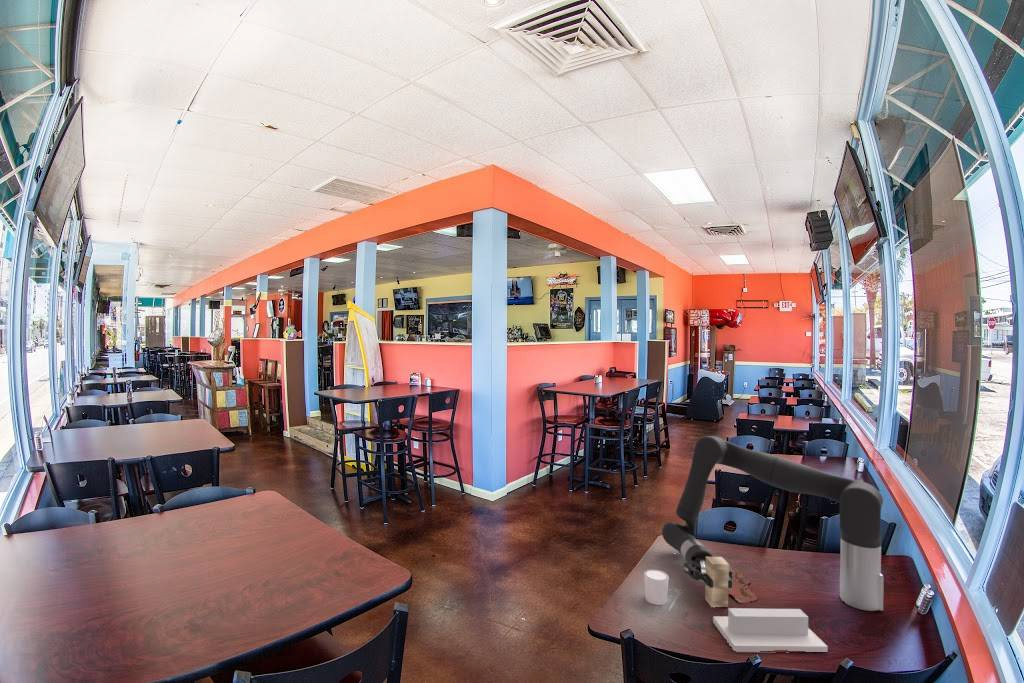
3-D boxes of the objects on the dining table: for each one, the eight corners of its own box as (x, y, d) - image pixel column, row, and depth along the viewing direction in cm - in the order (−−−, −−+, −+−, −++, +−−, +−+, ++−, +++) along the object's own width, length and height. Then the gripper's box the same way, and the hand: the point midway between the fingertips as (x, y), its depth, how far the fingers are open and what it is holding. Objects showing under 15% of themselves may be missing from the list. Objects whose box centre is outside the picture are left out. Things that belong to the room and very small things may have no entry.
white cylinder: (670, 596, 138) (670, 572, 138) (667, 608, 132) (667, 583, 132) (645, 590, 141) (645, 567, 141) (641, 602, 135) (641, 577, 135)
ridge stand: (797, 622, 126) (797, 599, 126) (827, 652, 114) (828, 627, 114) (713, 622, 126) (713, 599, 126) (734, 652, 114) (734, 626, 114)
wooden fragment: (762, 607, 133) (762, 604, 133) (720, 602, 136) (720, 598, 136) (741, 565, 158) (741, 562, 158) (705, 562, 161) (705, 558, 161)
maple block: (721, 598, 137) (721, 556, 137) (728, 607, 133) (728, 564, 132) (705, 598, 137) (705, 556, 137) (711, 607, 133) (712, 564, 132)
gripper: (674, 544, 149) (695, 570, 132) (720, 544, 149) (747, 571, 132) (673, 568, 149) (695, 598, 132) (719, 568, 149) (747, 598, 132)
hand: (721, 584), depth 132 cm, fingers closed on maple block, 4 cm apart
